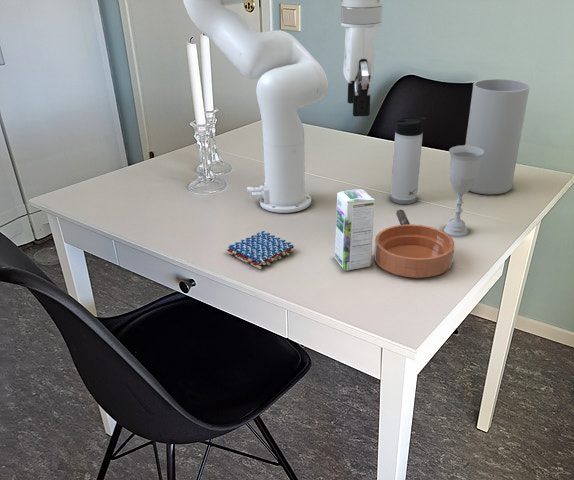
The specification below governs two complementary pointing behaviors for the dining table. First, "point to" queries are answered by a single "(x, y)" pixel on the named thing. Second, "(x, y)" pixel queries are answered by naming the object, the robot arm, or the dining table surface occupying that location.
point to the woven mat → (260, 249)
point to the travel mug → (406, 159)
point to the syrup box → (354, 229)
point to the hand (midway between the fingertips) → (358, 109)
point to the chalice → (462, 181)
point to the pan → (414, 250)
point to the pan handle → (402, 217)
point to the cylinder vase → (496, 131)
